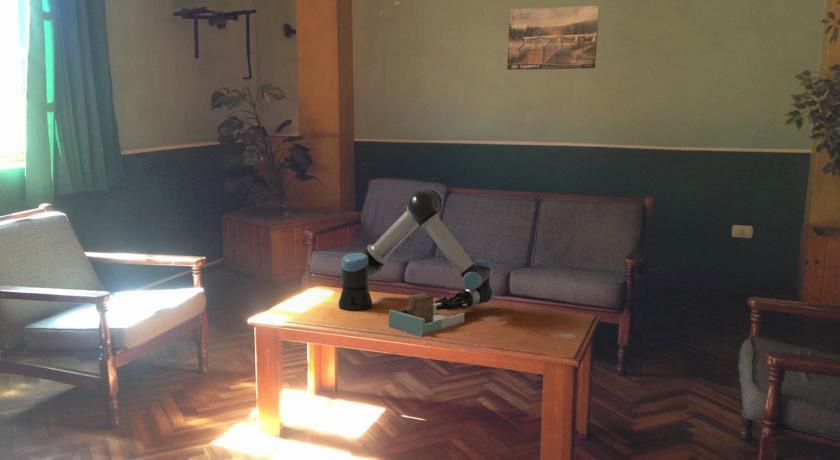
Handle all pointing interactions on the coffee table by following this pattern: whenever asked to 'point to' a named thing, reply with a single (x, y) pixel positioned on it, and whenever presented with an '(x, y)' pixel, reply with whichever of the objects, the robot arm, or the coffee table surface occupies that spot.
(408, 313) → the tray
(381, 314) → the coffee table surface
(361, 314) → the coffee table surface
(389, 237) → the robot arm
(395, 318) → the teal and white tray
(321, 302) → the coffee table surface
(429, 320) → the walnut block
